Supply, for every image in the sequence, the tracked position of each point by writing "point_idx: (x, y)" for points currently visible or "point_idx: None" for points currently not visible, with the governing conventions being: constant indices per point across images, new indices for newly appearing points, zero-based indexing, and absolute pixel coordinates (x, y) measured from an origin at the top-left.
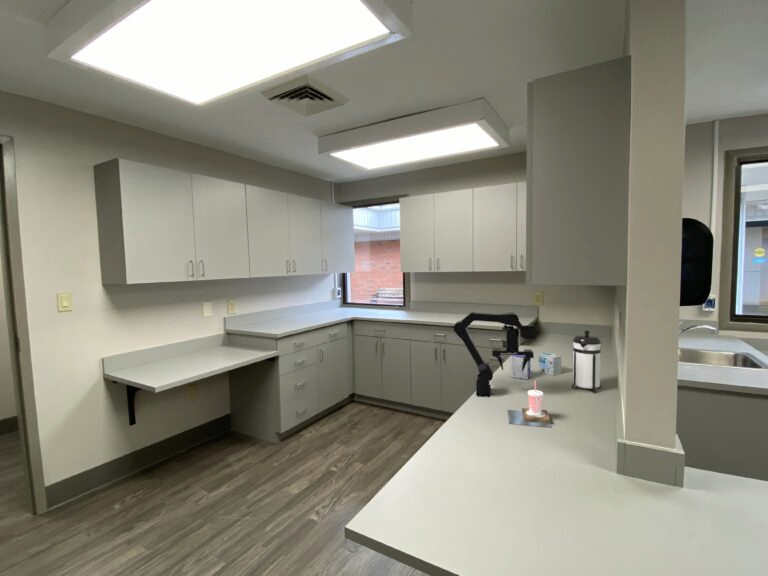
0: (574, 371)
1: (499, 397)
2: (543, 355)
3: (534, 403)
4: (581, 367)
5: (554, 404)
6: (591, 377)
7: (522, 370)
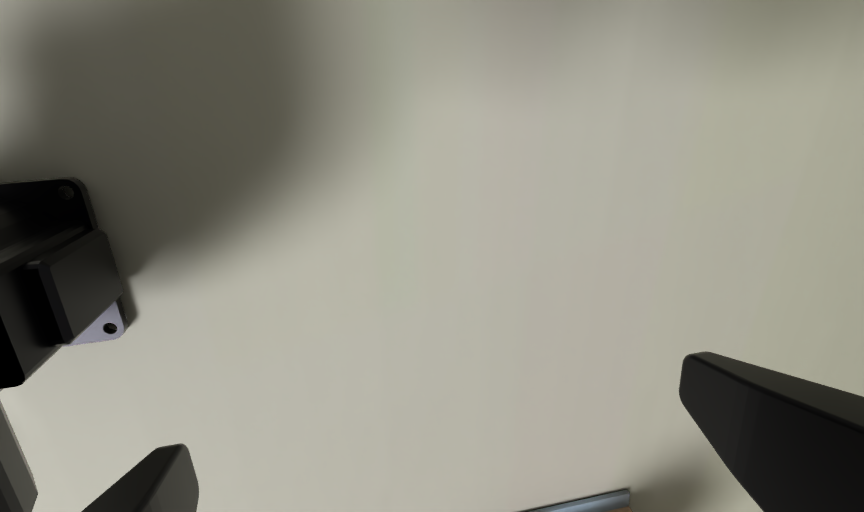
0: None
1: (245, 297)
2: None
3: None
4: None
5: (725, 302)
6: None
7: (697, 416)
